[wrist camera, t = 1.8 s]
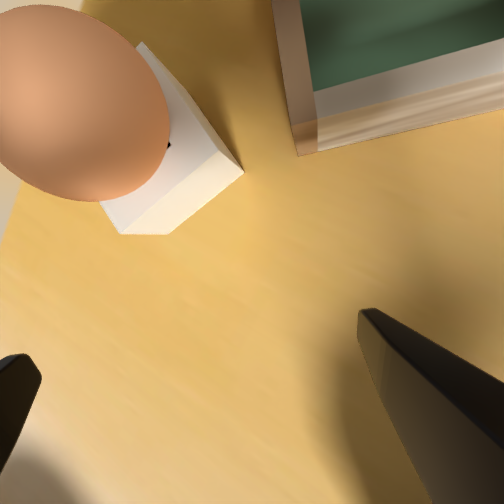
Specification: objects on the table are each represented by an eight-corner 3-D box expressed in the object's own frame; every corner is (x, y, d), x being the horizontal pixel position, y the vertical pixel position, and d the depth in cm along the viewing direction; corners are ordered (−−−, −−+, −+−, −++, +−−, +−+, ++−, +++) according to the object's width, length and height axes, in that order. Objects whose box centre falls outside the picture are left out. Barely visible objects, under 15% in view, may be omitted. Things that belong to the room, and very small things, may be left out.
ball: (191, 212, 15) (80, 192, 8) (80, 205, 16) (-95, 183, 9) (199, 72, 14) (88, -82, 7) (83, 78, 16) (-99, -43, 9)
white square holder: (244, 172, 18) (218, 150, 14) (167, 234, 20) (119, 233, 15) (187, 90, 19) (142, 41, 14) (116, 157, 21) (54, 132, 16)
